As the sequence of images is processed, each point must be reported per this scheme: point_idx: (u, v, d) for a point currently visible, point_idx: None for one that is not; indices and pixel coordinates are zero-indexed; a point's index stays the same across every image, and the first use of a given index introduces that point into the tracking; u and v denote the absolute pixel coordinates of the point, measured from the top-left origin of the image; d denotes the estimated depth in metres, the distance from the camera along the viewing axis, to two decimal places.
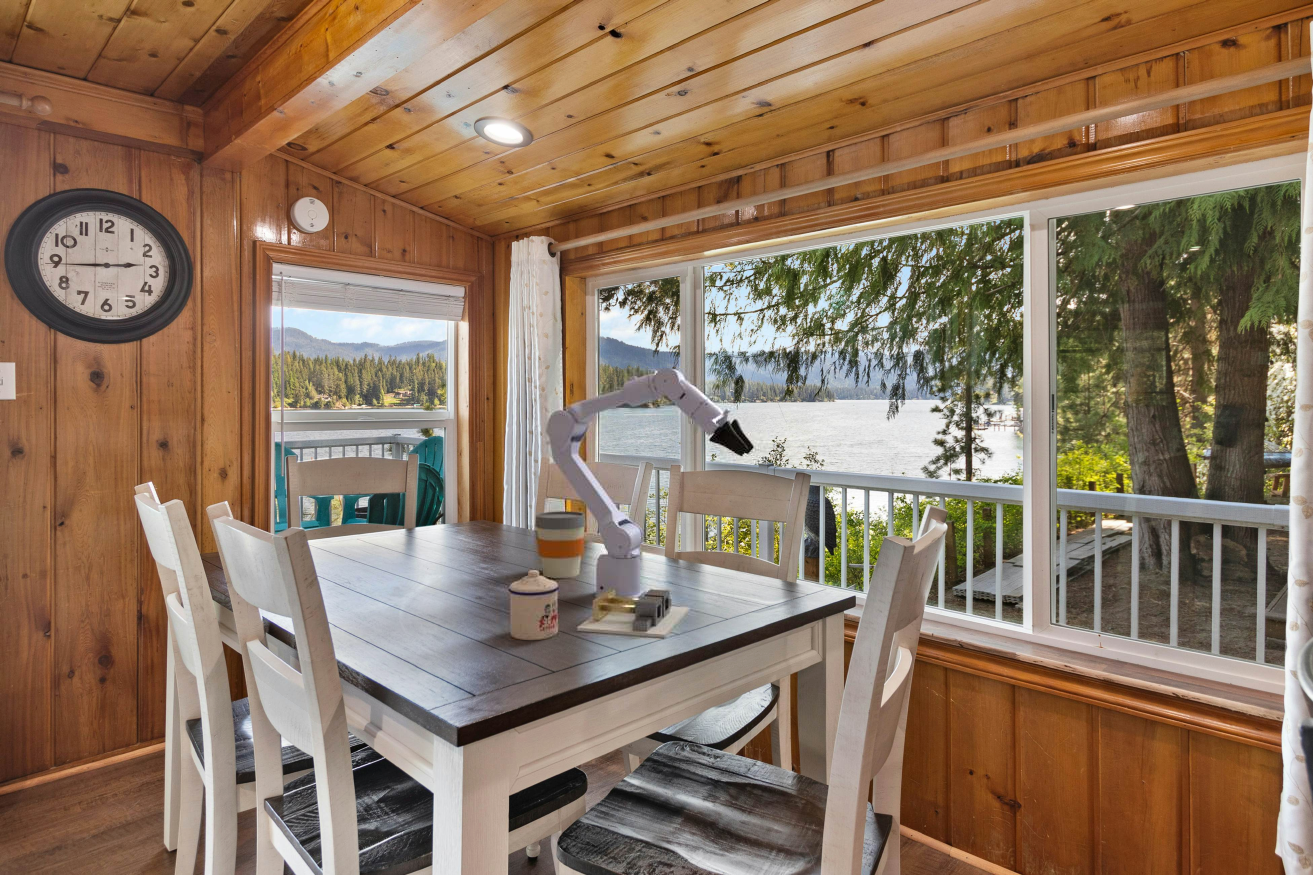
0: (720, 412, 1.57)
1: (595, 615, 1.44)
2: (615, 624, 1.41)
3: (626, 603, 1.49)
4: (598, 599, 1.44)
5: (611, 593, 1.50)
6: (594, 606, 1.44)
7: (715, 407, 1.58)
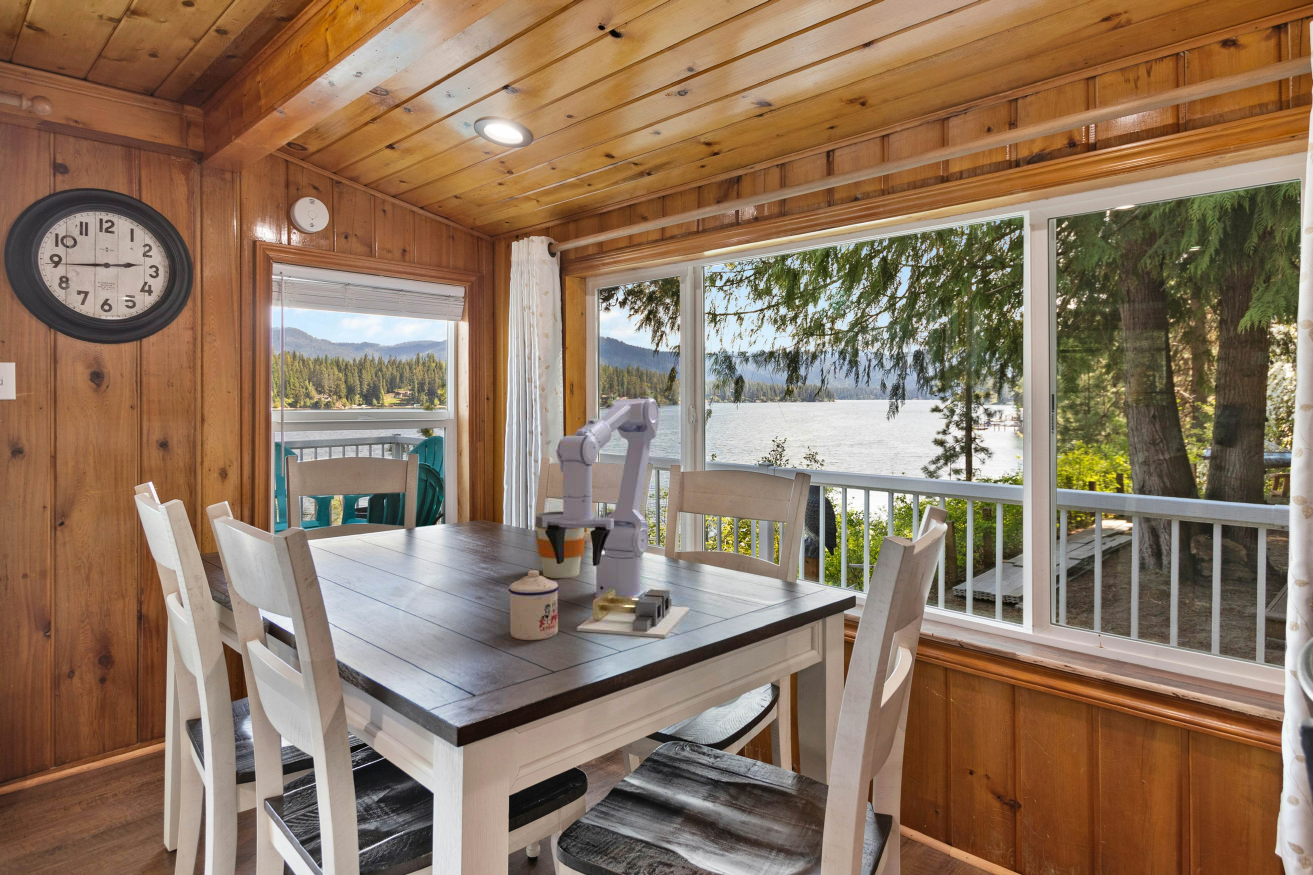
0: (566, 517, 1.47)
1: (595, 615, 1.44)
2: (615, 624, 1.41)
3: (626, 603, 1.49)
4: (598, 599, 1.44)
5: (611, 593, 1.50)
6: (594, 606, 1.44)
7: (567, 509, 1.47)
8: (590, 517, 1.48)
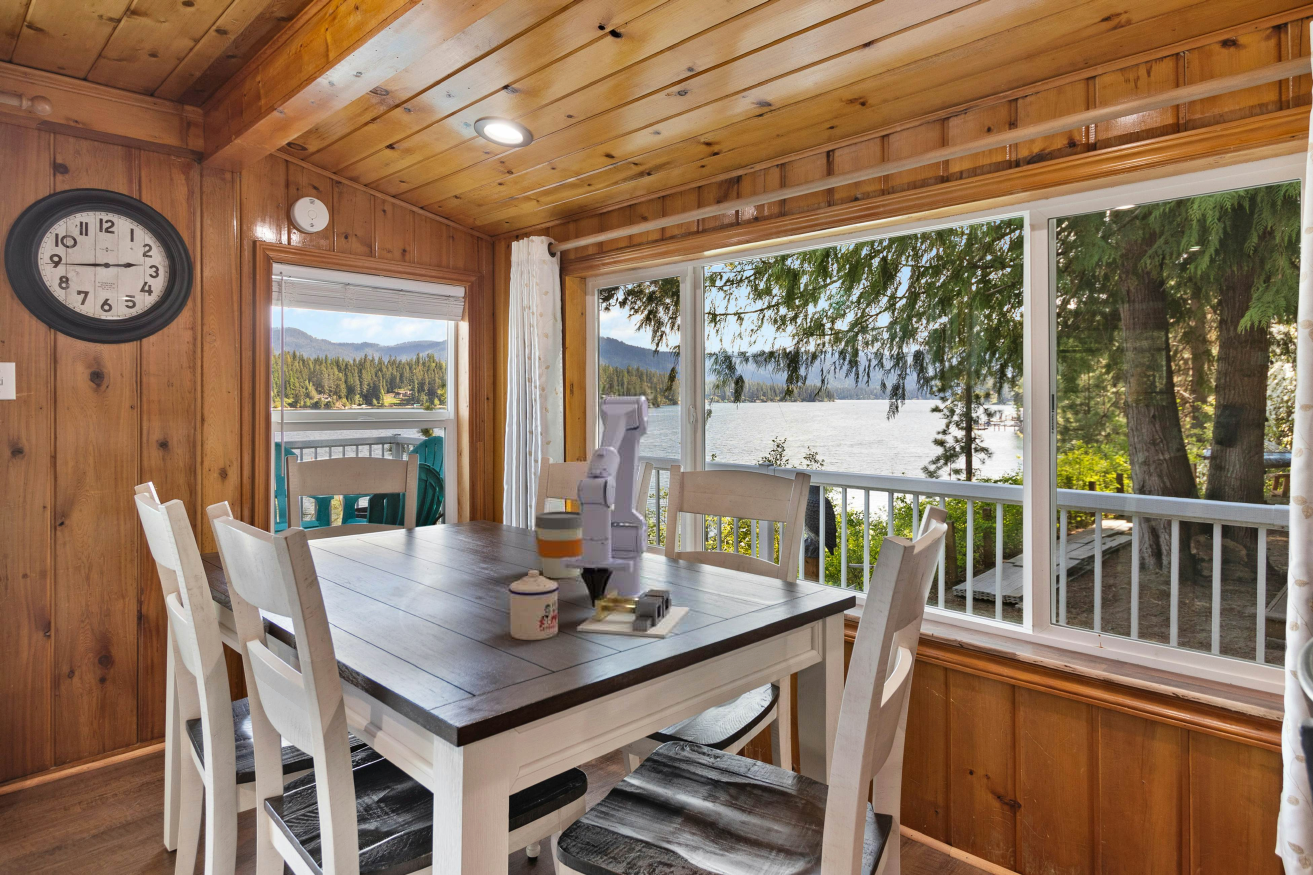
0: (586, 560, 1.46)
1: (597, 616, 1.43)
2: (615, 624, 1.41)
3: (628, 603, 1.49)
4: (600, 599, 1.44)
5: (613, 593, 1.50)
6: (596, 606, 1.43)
7: (586, 552, 1.46)
8: (609, 560, 1.47)
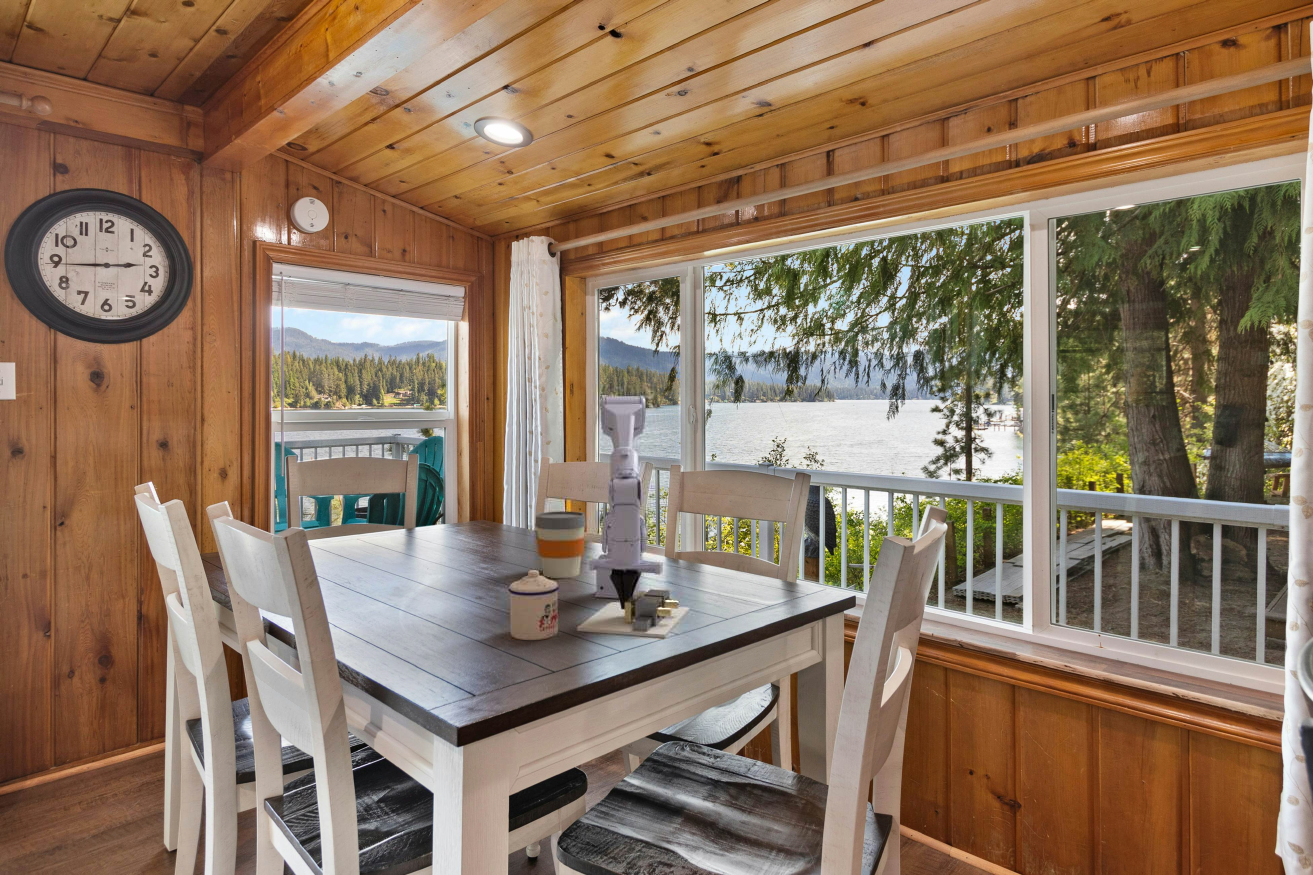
0: (615, 561, 1.44)
1: (627, 618, 1.42)
2: (615, 624, 1.41)
3: None
4: (630, 601, 1.42)
5: (642, 595, 1.49)
6: (626, 608, 1.42)
7: (615, 553, 1.44)
8: (638, 561, 1.45)
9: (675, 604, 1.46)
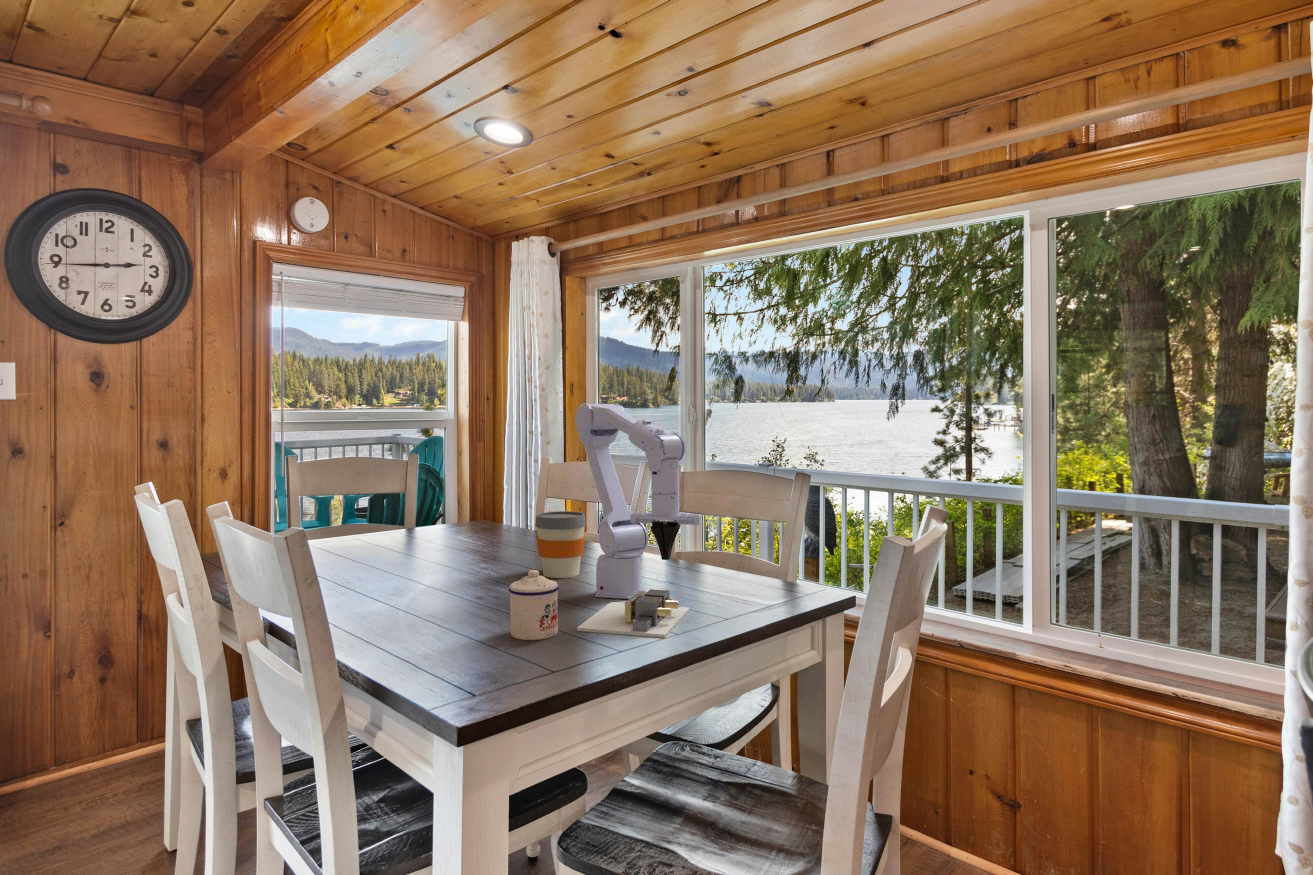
0: (656, 513, 1.51)
1: (627, 618, 1.42)
2: (615, 624, 1.41)
3: None
4: (630, 601, 1.42)
5: (642, 595, 1.49)
6: (626, 608, 1.42)
7: (656, 506, 1.51)
8: (678, 513, 1.52)
9: (675, 604, 1.46)
